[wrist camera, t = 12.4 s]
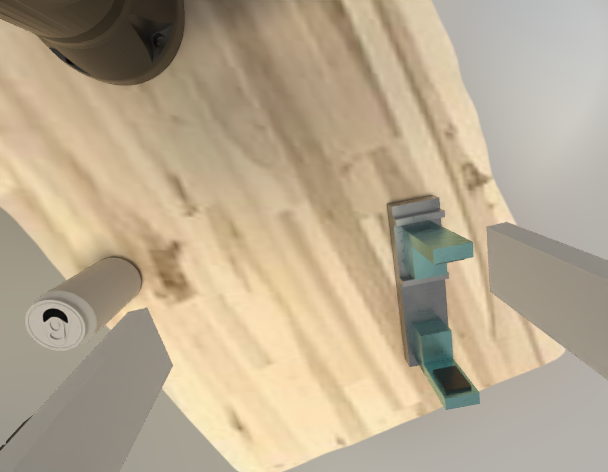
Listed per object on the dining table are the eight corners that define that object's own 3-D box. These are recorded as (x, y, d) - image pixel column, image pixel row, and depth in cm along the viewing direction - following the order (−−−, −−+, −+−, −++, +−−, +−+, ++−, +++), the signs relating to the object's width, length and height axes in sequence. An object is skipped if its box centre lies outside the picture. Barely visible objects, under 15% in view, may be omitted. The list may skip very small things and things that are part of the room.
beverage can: (142, 257, 41) (85, 298, 30) (144, 300, 43) (91, 356, 31) (92, 253, 41) (14, 294, 29) (97, 298, 43) (24, 353, 31)
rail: (387, 204, 41) (420, 223, 30) (432, 195, 41) (481, 211, 30) (404, 358, 47) (438, 418, 37) (444, 350, 47) (488, 408, 37)
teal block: (401, 227, 40) (433, 249, 31) (432, 222, 40) (472, 242, 31) (406, 271, 41) (437, 303, 33) (436, 265, 41) (474, 296, 33)
